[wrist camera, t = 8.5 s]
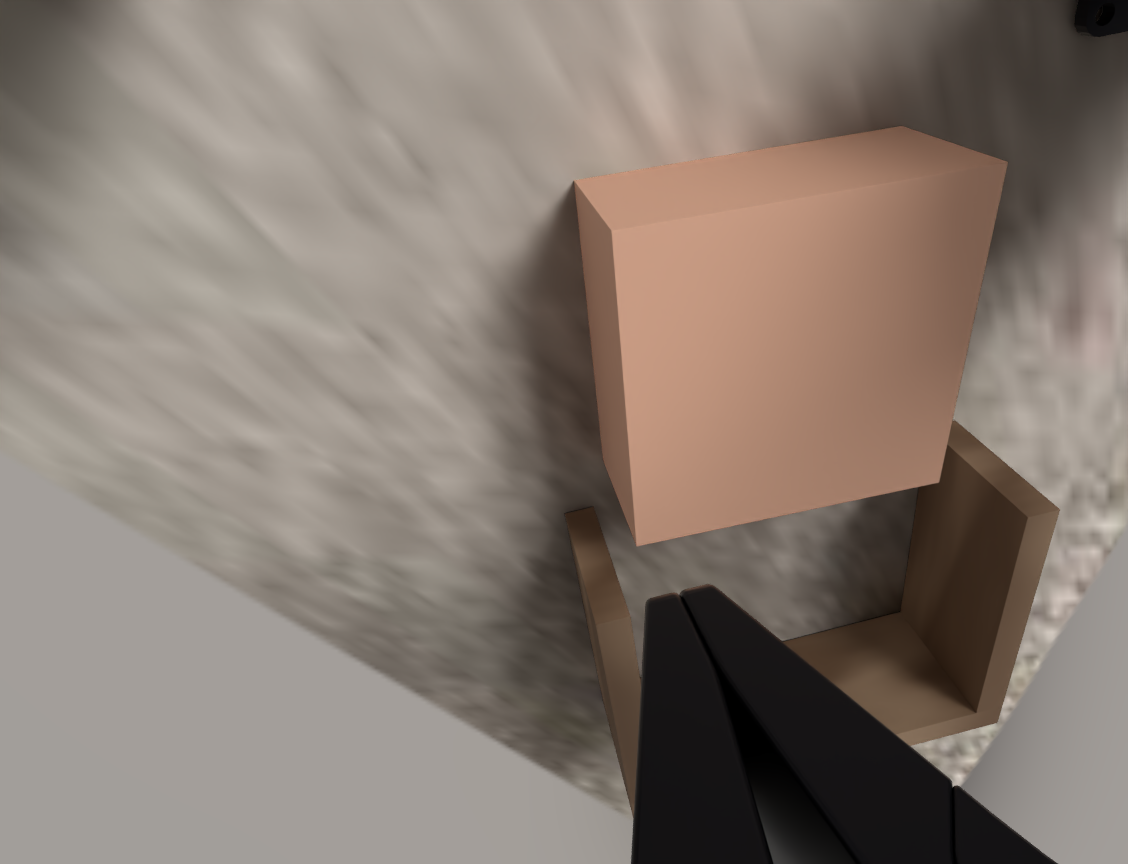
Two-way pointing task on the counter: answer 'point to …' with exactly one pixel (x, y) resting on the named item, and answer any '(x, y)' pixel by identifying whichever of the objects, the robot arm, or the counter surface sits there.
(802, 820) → the robot arm
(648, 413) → the terracotta block
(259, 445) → the counter surface
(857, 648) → the walnut stall
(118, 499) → the counter surface
